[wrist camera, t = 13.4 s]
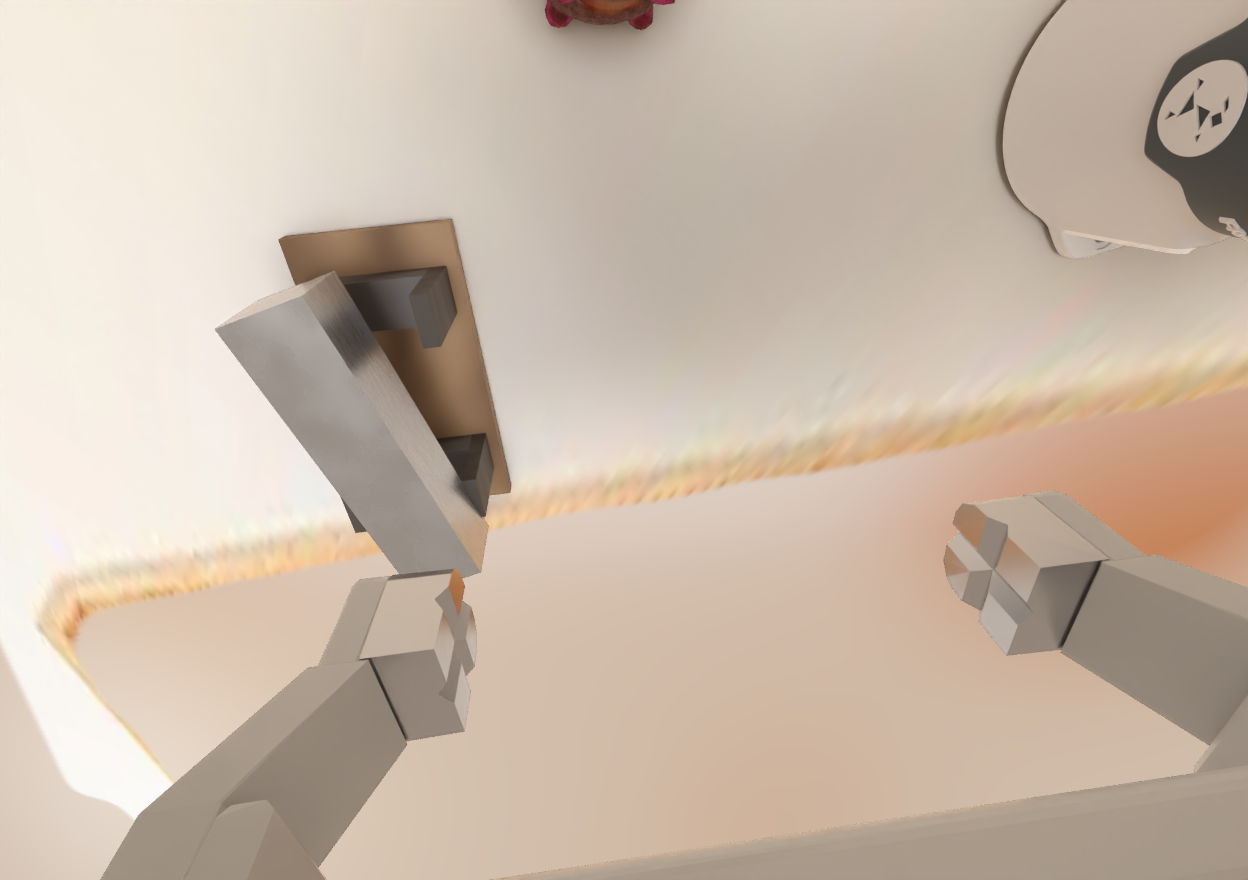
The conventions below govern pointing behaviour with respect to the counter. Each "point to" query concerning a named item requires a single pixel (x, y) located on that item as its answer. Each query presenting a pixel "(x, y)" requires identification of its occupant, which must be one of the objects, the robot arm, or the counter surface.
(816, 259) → the counter surface
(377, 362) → the rail
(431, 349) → the stand
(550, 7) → the mug
